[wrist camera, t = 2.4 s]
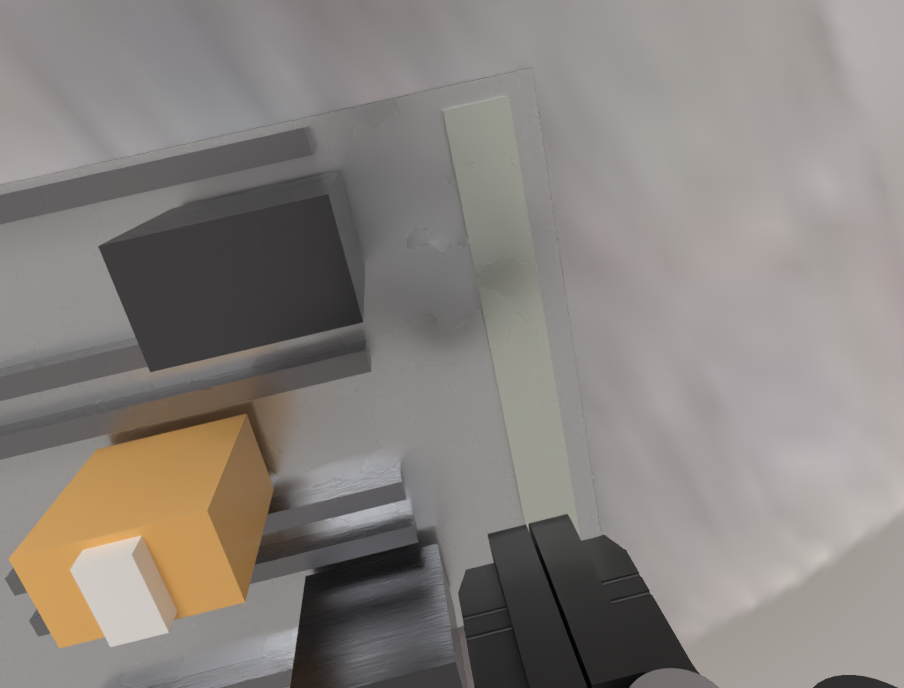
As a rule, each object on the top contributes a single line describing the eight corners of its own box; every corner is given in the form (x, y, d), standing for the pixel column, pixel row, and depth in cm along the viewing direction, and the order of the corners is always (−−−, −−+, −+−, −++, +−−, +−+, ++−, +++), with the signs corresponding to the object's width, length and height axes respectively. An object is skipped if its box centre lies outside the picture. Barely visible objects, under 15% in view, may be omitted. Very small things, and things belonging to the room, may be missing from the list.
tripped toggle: (96, 449, 17) (-9, 579, 12) (246, 413, 17) (200, 528, 12) (130, 523, 18) (46, 671, 13) (273, 488, 18) (240, 623, 13)
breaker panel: (-327, 257, 16) (-768, 353, 10) (514, 71, 17) (598, 51, 11) (-30, 705, 22) (-191, 946, 16) (589, 550, 23) (673, 719, 17)
